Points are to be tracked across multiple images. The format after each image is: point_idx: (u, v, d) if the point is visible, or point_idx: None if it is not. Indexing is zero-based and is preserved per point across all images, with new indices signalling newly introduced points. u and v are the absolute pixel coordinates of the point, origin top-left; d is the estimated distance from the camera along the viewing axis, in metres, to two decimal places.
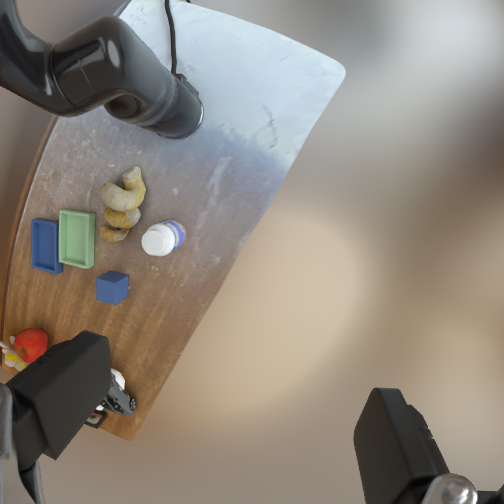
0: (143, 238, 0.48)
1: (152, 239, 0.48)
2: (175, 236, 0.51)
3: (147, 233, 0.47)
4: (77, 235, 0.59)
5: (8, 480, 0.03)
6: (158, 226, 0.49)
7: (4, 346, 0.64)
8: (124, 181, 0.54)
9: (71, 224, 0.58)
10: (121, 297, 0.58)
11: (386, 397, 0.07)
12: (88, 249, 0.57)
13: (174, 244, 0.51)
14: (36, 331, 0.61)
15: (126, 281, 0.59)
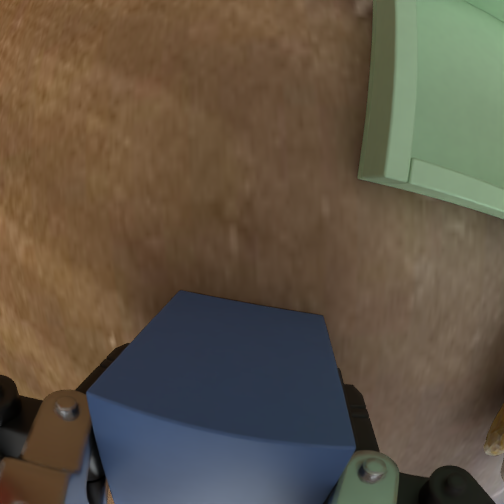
0: None
1: None
2: None
3: None
4: None
5: (73, 500, 0.03)
6: None
7: None
8: None
9: None
10: None
11: None
12: None
13: None
14: None
15: None
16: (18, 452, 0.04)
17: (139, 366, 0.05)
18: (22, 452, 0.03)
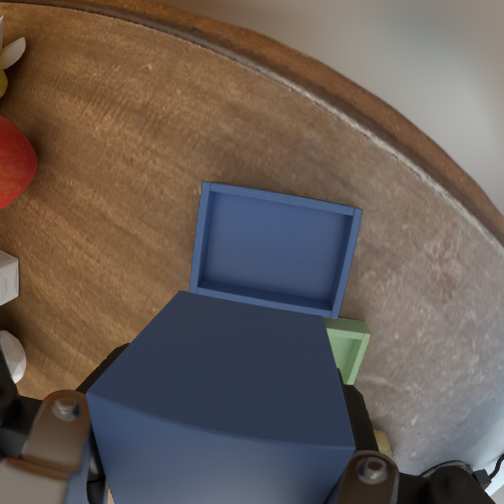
0: None
1: None
2: None
3: None
4: None
5: (73, 500, 0.03)
6: None
7: None
8: None
9: None
10: None
11: None
12: None
13: None
14: (22, 181, 0.20)
15: None
16: (18, 452, 0.04)
17: (139, 366, 0.05)
18: (22, 452, 0.03)
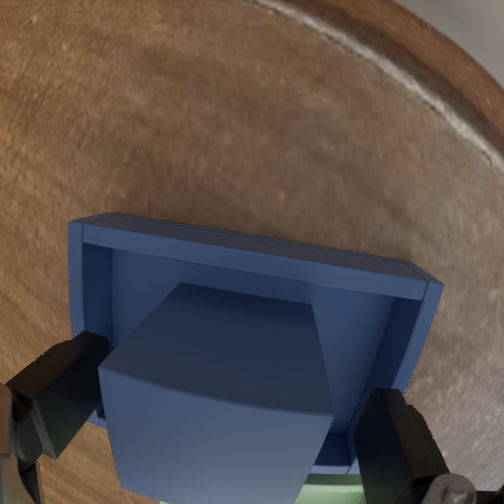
0: None
1: None
2: None
3: None
4: None
5: (8, 480, 0.03)
6: None
7: None
8: None
9: None
10: None
11: (386, 397, 0.07)
12: None
13: None
14: None
15: None
16: None
17: (145, 345, 0.06)
18: None
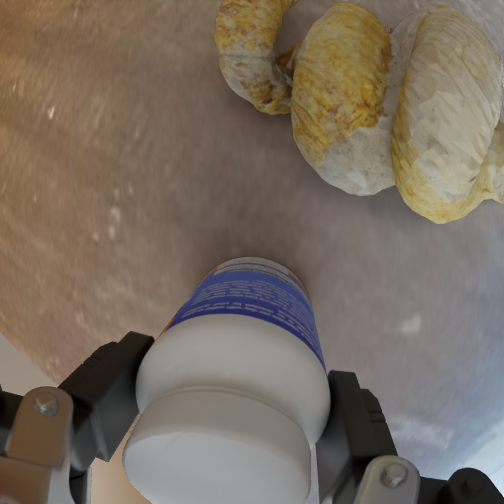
0: (245, 449, 0.05)
1: (239, 494, 0.05)
2: None
3: (289, 476, 0.05)
4: None
5: (56, 494, 0.03)
6: (320, 429, 0.07)
7: None
8: None
9: None
10: None
11: (339, 379, 0.08)
12: None
13: None
14: None
15: None
16: (3, 446, 0.04)
17: None
18: (5, 449, 0.03)
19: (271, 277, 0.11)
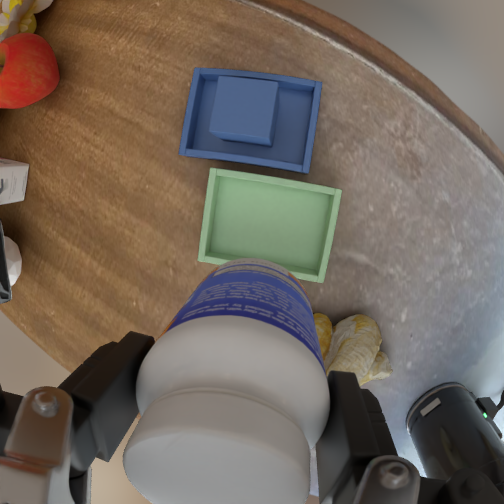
0: (245, 450, 0.05)
1: (239, 495, 0.05)
2: None
3: (289, 477, 0.05)
4: (274, 221, 0.28)
5: (56, 494, 0.03)
6: (320, 430, 0.07)
7: None
8: (373, 362, 0.28)
9: (301, 205, 0.28)
10: (223, 136, 0.24)
11: (339, 379, 0.08)
12: None
13: None
14: (47, 82, 0.23)
15: (259, 144, 0.26)
16: (3, 446, 0.04)
17: None
18: (5, 449, 0.03)
19: (270, 278, 0.11)
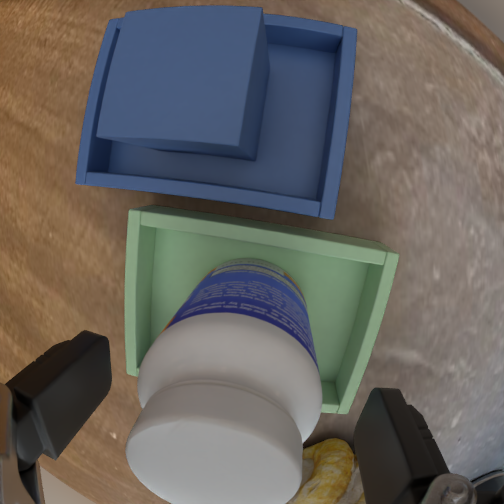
0: (240, 437, 0.05)
1: (235, 482, 0.05)
2: None
3: (281, 464, 0.05)
4: None
5: (8, 480, 0.03)
6: (313, 422, 0.07)
7: None
8: None
9: (313, 278, 0.14)
10: (146, 145, 0.11)
11: (386, 397, 0.07)
12: None
13: None
14: None
15: (229, 156, 0.13)
16: None
17: None
18: None
19: (266, 277, 0.12)
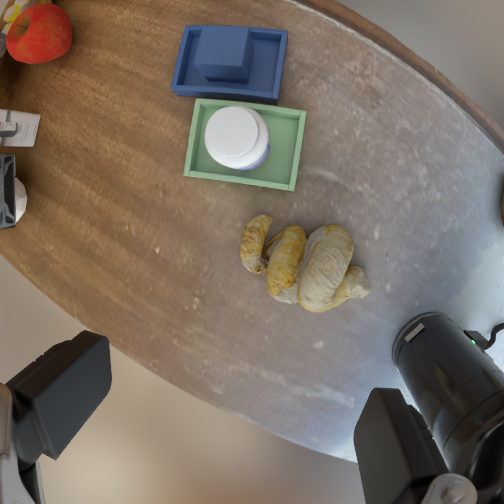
0: (240, 110, 0.22)
1: (238, 130, 0.22)
2: (242, 168, 0.26)
3: (251, 119, 0.22)
4: None
5: (8, 480, 0.03)
6: (265, 136, 0.24)
7: None
8: (348, 275, 0.32)
9: (273, 129, 0.31)
10: (206, 72, 0.27)
11: (386, 397, 0.07)
12: None
13: (227, 166, 0.26)
14: (63, 42, 0.26)
15: (237, 81, 0.29)
16: None
17: None
18: None
19: None
